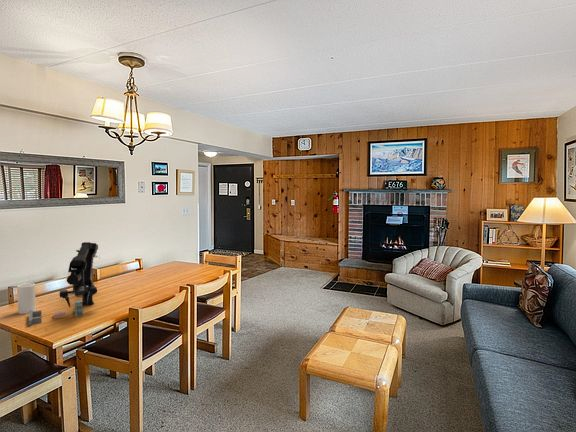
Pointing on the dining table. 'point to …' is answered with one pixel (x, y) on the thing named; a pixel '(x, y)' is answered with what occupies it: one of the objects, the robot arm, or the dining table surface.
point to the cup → (26, 298)
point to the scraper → (78, 308)
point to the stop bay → (36, 319)
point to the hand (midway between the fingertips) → (78, 305)
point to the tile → (59, 314)
